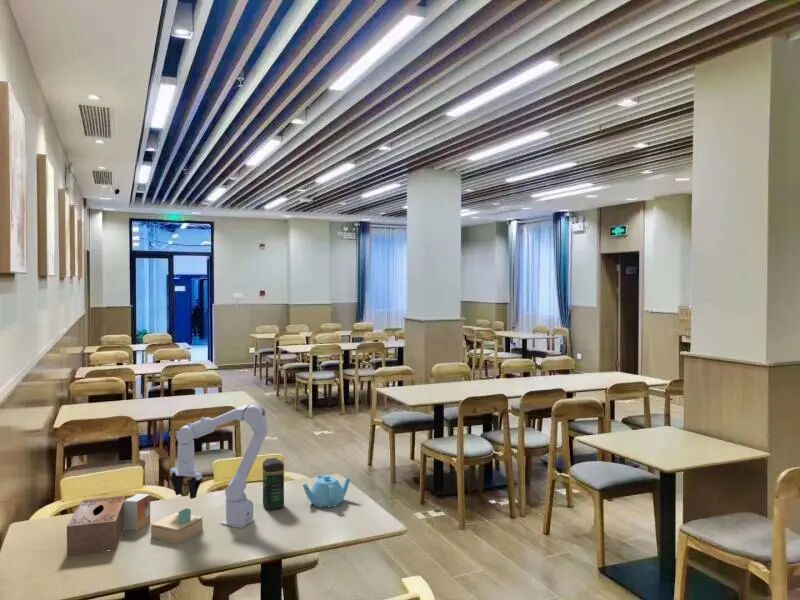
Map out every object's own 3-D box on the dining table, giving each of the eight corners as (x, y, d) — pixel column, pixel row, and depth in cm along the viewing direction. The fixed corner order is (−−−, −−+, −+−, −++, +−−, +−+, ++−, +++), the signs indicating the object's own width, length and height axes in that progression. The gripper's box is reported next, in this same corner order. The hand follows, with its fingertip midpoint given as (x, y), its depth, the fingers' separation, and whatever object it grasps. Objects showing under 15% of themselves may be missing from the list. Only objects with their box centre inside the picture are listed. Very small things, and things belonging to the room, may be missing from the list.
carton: (202, 530, 213) (202, 519, 213) (177, 543, 202) (177, 532, 202) (176, 525, 218) (176, 514, 218) (151, 538, 207) (150, 526, 207)
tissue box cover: (82, 527, 217) (82, 500, 217) (126, 522, 222) (125, 495, 221) (67, 557, 193) (66, 526, 192) (116, 551, 197) (115, 521, 197)
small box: (137, 531, 213) (136, 501, 213) (123, 529, 214) (122, 500, 214) (150, 522, 221) (150, 494, 221) (137, 521, 222) (137, 493, 222)
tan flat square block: (202, 518, 213) (202, 505, 213) (177, 531, 202) (177, 517, 202) (176, 513, 218) (176, 501, 218) (150, 525, 207) (150, 512, 207)
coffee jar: (286, 508, 234) (286, 461, 234) (266, 511, 231) (265, 464, 230) (280, 500, 243) (280, 455, 242) (261, 503, 239) (260, 457, 239)
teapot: (300, 506, 237) (299, 479, 237) (318, 494, 251) (318, 468, 251) (334, 511, 231) (334, 483, 231) (351, 498, 245) (351, 472, 245)
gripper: (163, 458, 218) (163, 495, 218) (191, 464, 211) (191, 502, 211) (178, 454, 224) (178, 490, 224) (206, 459, 217) (206, 497, 217)
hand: (185, 496), depth 218 cm, fingers open, 7 cm apart
